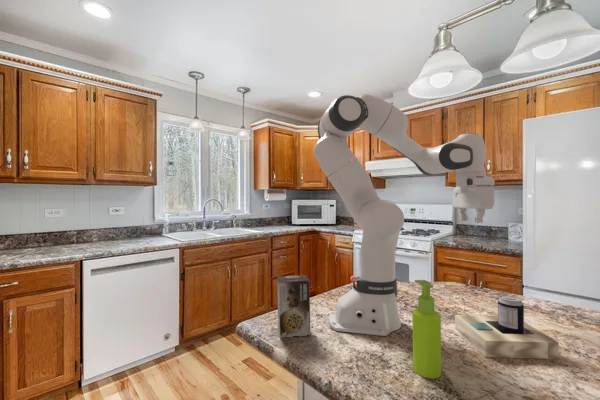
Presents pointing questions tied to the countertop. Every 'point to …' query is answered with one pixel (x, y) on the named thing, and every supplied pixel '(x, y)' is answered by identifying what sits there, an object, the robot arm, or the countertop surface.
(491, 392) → the countertop surface
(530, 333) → the socket board
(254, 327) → the countertop surface
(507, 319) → the beverage can
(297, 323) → the grey cardboard box
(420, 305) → the soap dispenser
